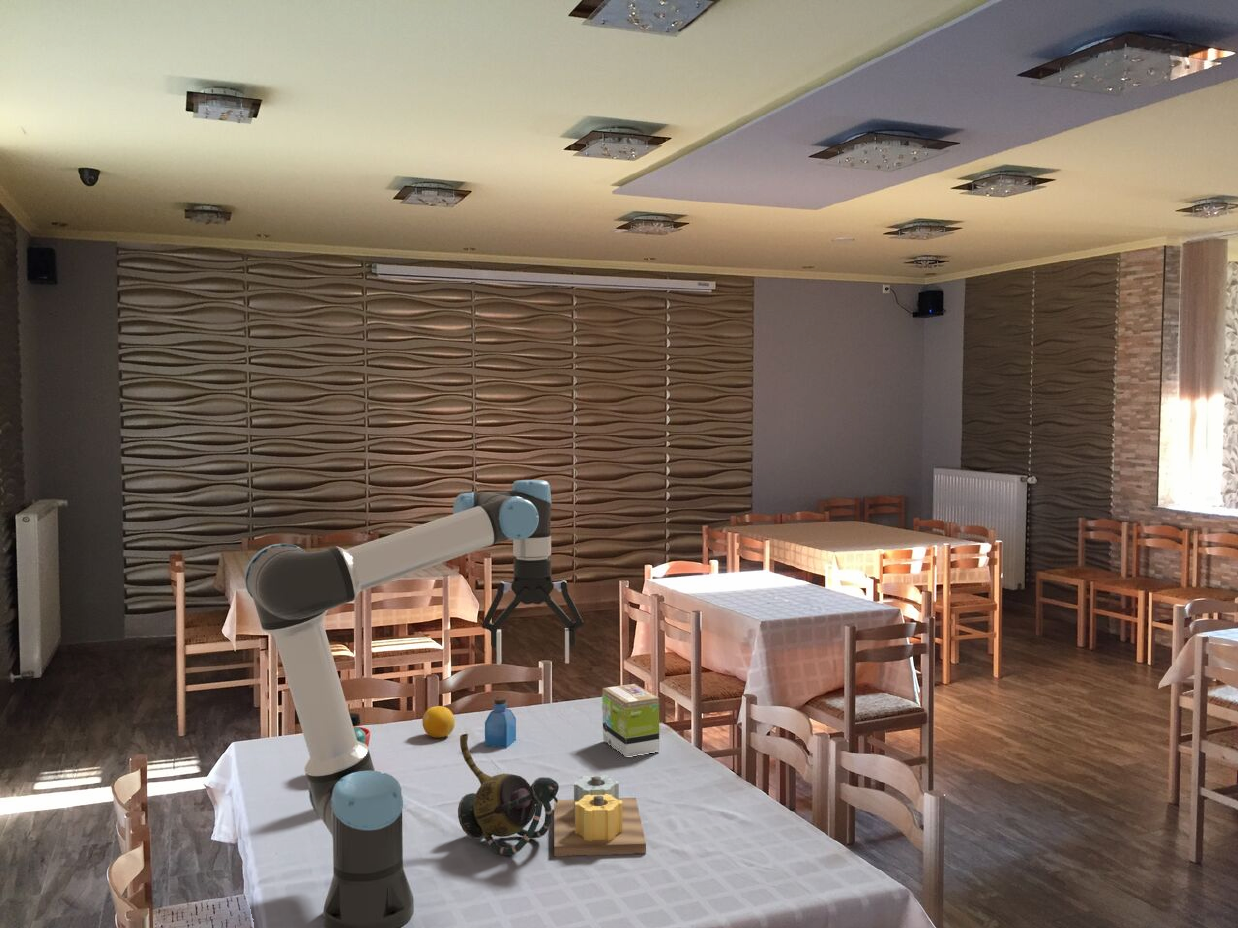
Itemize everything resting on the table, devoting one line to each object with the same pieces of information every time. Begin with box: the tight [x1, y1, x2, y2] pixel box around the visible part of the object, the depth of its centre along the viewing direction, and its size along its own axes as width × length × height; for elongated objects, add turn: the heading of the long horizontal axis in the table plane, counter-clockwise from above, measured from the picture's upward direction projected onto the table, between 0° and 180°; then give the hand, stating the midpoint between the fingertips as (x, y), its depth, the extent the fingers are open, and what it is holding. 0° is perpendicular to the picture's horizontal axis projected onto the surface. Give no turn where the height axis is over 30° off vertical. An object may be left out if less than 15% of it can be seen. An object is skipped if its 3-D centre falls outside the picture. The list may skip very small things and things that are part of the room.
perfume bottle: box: [484, 696, 517, 749], centre depth 265 cm, size 6×6×12 cm
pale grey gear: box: [573, 774, 620, 812], centre depth 214 cm, size 10×9×6 cm
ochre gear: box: [575, 794, 622, 841], centre depth 203 cm, size 10×9×6 cm
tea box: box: [601, 683, 661, 758], centre depth 261 cm, size 15×10×15 cm, turn 25°
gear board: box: [553, 775, 647, 857], centre depth 208 cm, size 24×18×9 cm
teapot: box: [457, 733, 560, 856], centre depth 201 cm, size 12×25×23 cm
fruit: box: [422, 705, 455, 739], centre depth 271 cm, size 9×8×8 cm
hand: (533, 662), depth 201 cm, fingers open, 13 cm apart
